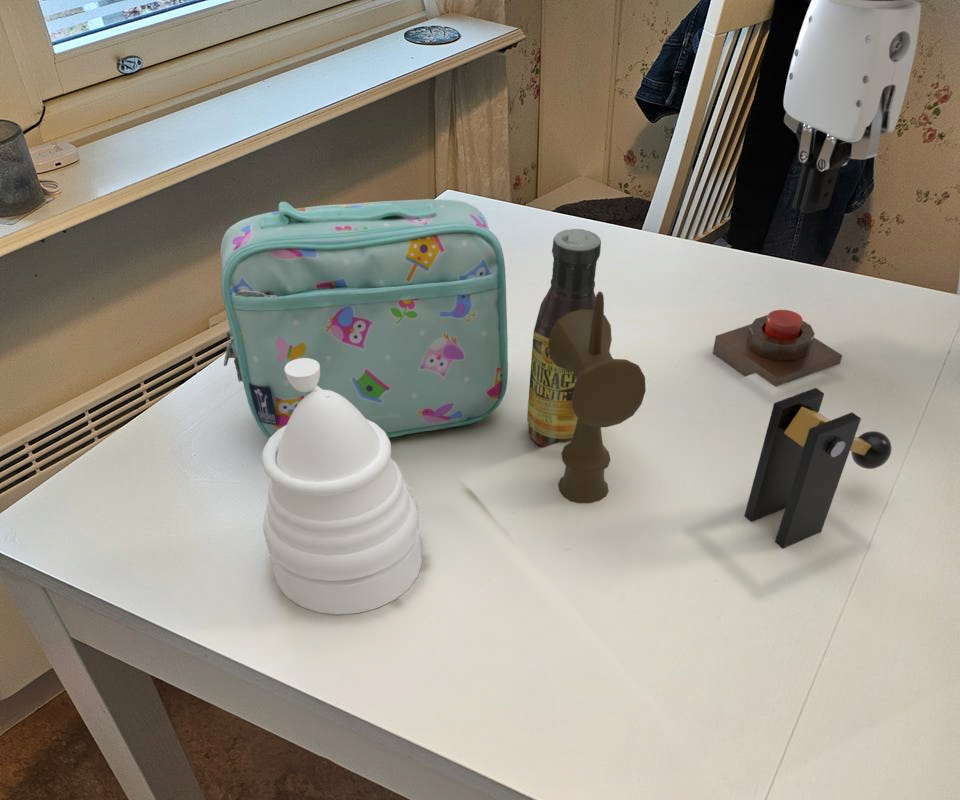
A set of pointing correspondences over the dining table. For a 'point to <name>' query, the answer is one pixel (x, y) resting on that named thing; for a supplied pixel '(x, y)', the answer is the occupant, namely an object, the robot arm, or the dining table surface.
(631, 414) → the kendama
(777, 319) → the light button
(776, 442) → the switch bracket
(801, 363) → the button block
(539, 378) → the sauce bottle
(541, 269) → the dining table surface
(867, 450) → the switch lever
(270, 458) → the honey pot
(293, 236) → the lunch box
